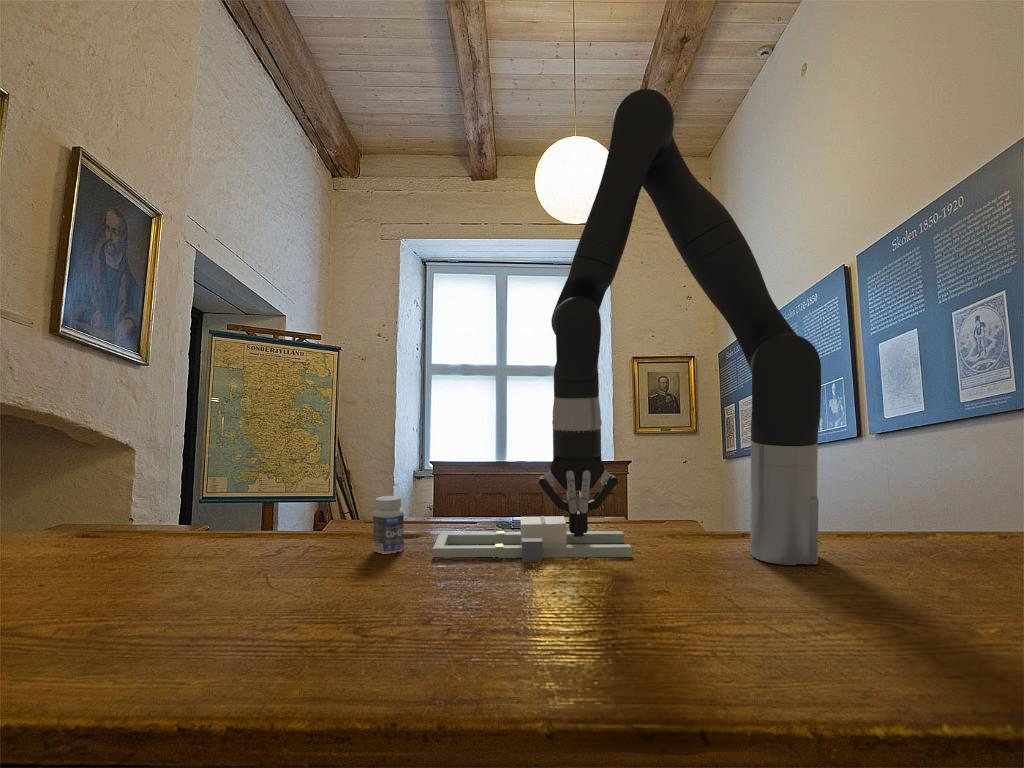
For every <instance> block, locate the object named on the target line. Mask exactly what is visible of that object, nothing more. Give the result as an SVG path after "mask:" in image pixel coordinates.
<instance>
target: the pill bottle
mask: <svg viewBox="0 0 1024 768" xmlns="http://www.w3.org/2000/svg"><path fill="white" fill-rule="evenodd" d="M374 503H375V504H374V505H375V510H374V511H373V512H372V513H373V514H372V521H373V522H372V523H373V526H372V527H373V528H372V531H373V534H372V535H373V536H372V537H373V550H374V549H375V550H378V551H385V552H386V551H399V550H402V549H405V536H404V534H405V529H404V528H405V527H404V524H405V522H404V519H405V517H404V516H405V514H404V510H403V509H402V497H401V496H398V495H383V496H378V497H376V498H375V502H374Z"/></svg>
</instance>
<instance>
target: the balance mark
mask: <svg viewBox="0 0 1024 768" xmlns="http://www.w3.org/2000/svg"><path fill="white" fill-rule="evenodd" d="M496 532H497V535H504V532H505V531H504V530H497V531H496ZM494 545H495V548H503V545H504V544H494Z"/></svg>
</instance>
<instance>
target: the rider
mask: <svg viewBox="0 0 1024 768" xmlns="http://www.w3.org/2000/svg"><path fill="white" fill-rule="evenodd" d="M520 532H521V544H520V545H522V538H542V545H567V543H566V532H567V522H566V518H565V516H564V515H562V516H552V515H551V516H544V515H540V516H520Z"/></svg>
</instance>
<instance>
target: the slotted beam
mask: <svg viewBox="0 0 1024 768" xmlns="http://www.w3.org/2000/svg"><path fill="white" fill-rule="evenodd" d="M624 535H625V534H624V532H623V531H621V530H620V531H619V530H617V531H613V530H612V531H611V530H610V531H587V533H584V536H583V537H574V534H573V533H571V532H570V531H566V545H542V538H522V545H521V531H506V532H505V531H504V535H497V531H493V532H492V531H490V532H487V531H485V532H484V531H483V532H482V531H481V532H478V531H477V532H440V533H439V534H438V535H437V539H436V541H435V543H434V544H433V547H432V558H433V557H493V558H492V559H496V558H495V557H498V558H497V559H499V558H500V559H508V558H509V559H513V558H514V559H515V558H516V559H518V558H519V559H521V558H522V559H521V561H522V563H524V562H526V563H530V562H531V563H533V562H537V563H538V562H543V559H545V558H549V559H550V558H632V554H633V553H632V551H633V550H632V546H631V544H628V543H627V544H626V543H625V536H624ZM493 544H494V545H493ZM495 544H503V548H495ZM514 544H515V545H514Z"/></svg>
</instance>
